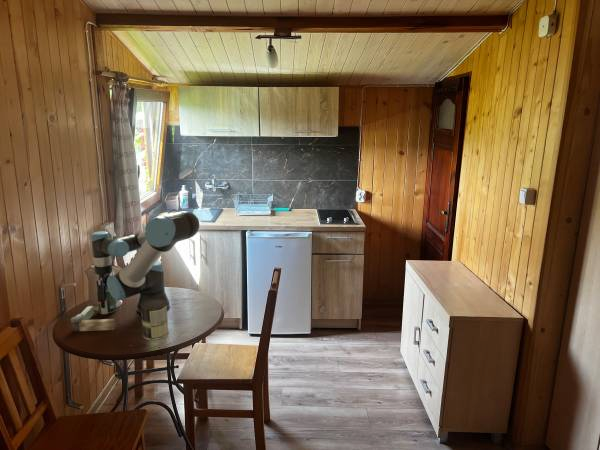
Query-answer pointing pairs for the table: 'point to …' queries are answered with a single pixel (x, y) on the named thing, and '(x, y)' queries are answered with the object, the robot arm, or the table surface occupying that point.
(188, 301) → the table surface
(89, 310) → the tongs jaw
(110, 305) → the canned tomato
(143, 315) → the coffee can
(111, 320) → the tongs fixed arm
